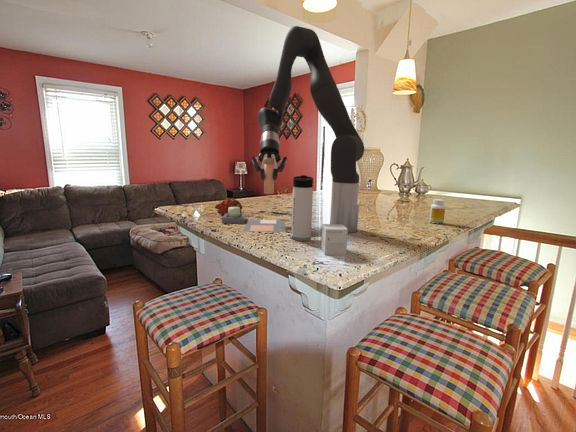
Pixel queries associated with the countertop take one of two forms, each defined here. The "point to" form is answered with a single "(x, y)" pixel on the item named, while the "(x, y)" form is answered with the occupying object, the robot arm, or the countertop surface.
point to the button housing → (233, 219)
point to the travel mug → (302, 208)
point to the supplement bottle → (437, 211)
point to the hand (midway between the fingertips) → (268, 178)
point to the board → (264, 226)
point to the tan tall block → (268, 175)
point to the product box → (334, 239)
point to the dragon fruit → (227, 205)
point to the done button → (234, 212)
